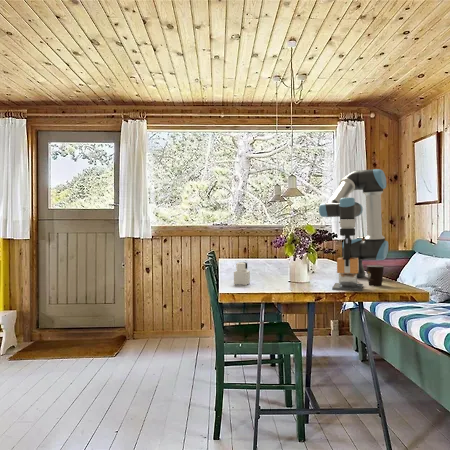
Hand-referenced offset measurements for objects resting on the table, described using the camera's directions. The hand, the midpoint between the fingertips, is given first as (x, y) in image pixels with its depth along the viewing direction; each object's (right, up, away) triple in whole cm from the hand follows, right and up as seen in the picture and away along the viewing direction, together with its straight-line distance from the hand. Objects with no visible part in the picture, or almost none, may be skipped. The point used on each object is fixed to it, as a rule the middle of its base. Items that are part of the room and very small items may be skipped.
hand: (347, 271), depth 222 cm
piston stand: (0, -8, 0) cm, 8 cm away
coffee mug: (+17, -8, +10) cm, 21 cm away
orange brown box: (0, 0, 0) cm, 0 cm away
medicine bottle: (-53, -9, +17) cm, 57 cm away
